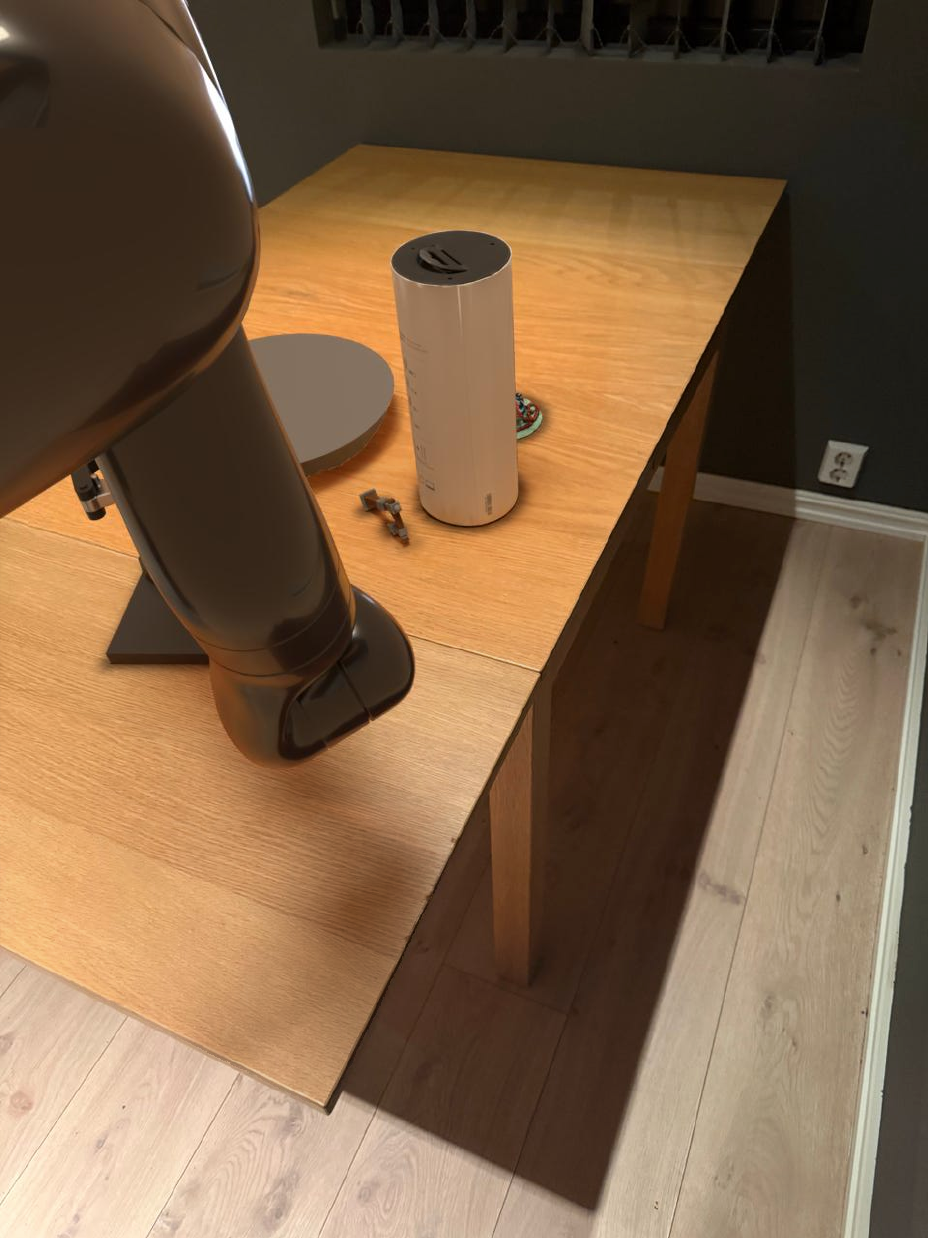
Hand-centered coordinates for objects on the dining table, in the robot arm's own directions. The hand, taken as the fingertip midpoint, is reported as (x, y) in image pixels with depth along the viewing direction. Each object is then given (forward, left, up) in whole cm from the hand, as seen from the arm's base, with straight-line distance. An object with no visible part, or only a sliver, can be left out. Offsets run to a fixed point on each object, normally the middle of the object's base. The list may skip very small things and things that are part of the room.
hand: (138, 406), depth 67 cm
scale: (0, 0, -22) cm, 22 cm away
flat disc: (0, +29, -22) cm, 36 cm away
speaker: (+23, +16, -22) cm, 36 cm away
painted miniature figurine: (+26, +30, -22) cm, 45 cm away
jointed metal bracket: (+15, +12, -22) cm, 29 cm away
